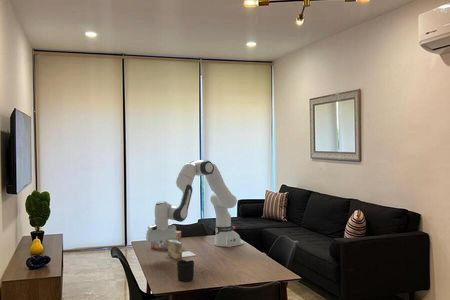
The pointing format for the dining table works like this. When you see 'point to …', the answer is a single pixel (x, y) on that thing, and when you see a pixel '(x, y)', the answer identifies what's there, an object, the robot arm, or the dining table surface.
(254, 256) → the dining table surface
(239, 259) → the dining table surface
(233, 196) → the robot arm
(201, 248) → the dining table surface
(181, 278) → the pen holder
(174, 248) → the oak block
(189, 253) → the felt mat
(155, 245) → the stack of blocks
